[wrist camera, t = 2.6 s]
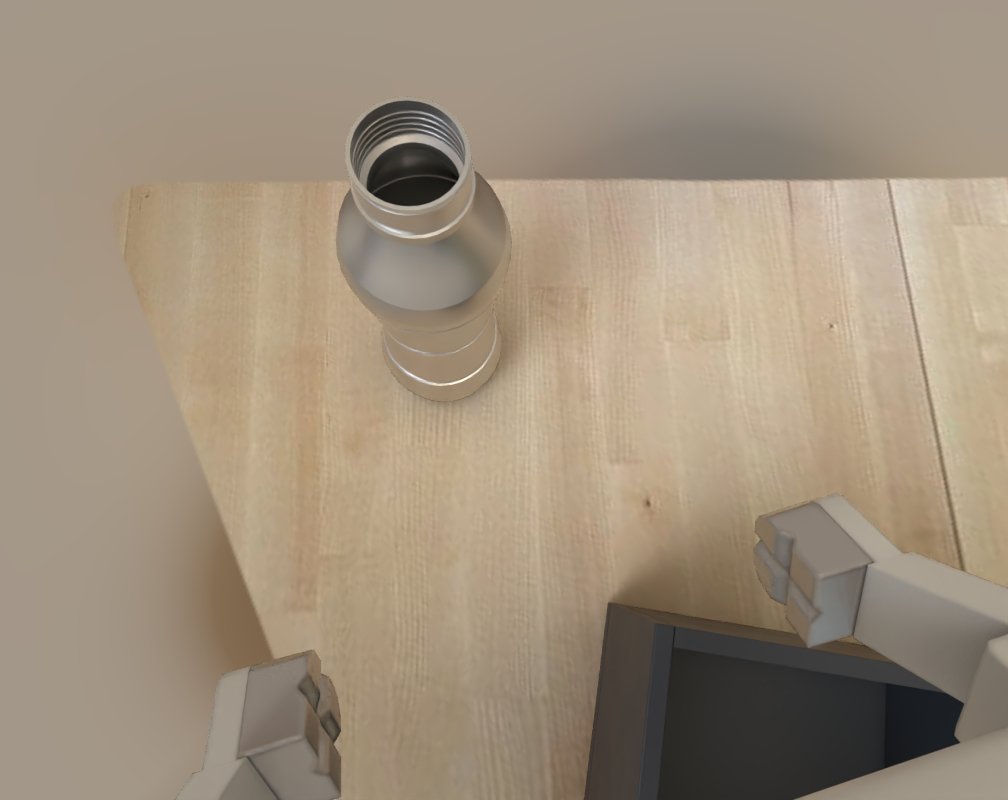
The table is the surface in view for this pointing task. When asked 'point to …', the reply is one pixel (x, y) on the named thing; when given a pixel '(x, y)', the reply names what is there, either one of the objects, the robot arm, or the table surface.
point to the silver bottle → (424, 246)
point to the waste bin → (749, 712)
